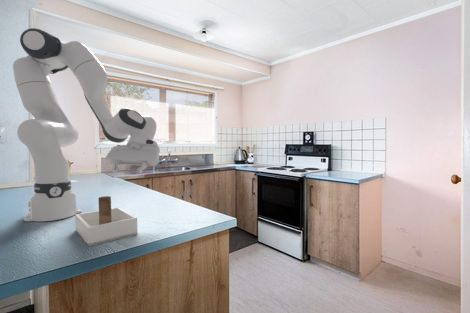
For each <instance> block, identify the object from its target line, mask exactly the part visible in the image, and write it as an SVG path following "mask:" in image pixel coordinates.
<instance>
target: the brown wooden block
mask: <svg viewBox="0 0 470 313" xmlns="http://www.w3.org/2000/svg"><path fill="white" fill-rule="evenodd" d="M111 208H112V197H111V196H110V195H109V196H108V195H105V196H104V195H103V196H99V197H98V211H99V225H101V224H106V223H111Z"/></svg>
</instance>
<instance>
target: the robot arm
mask: <svg viewBox="0 0 470 313" xmlns="http://www.w3.org/2000/svg"><path fill="white" fill-rule="evenodd" d="M19 37H20V38H19V42H20V46H21V47H22V49H23V50H24V52H25V53H26V54H27V56H23V57H22V56H21V57H19V58H18V57H17V59H15V60H14V61H13V64H12V67H13V68H12V69H13V76H14V81H15V84H16V88H17V92H18V94H19V96H20V99H21V102H22V105H23V108H24V109H25V110H26V111H27V112H29V113H30V114H31V116H32V117H33V119H27V120H24V121H22V122H21V123H20V124H19V125H18V127H17V131H16V134H17V138H18V139H19V141H20V143H22V144H24V145H25V146H26V148H27V150H28V151H29V153H30V155H31V158H32V160H33V166H34V175H35V176H34V177H35V183H34V186H33V190H34V191H33V192H34V195H33V196H32V197H31V198H30V199H29V201H28V203H27V204H28V205H27V206H28V208H29V209H28V210H29V212H28V213H27V214H26V216H25V217H24V218H23V222H51V221H57V220H62V219H68V218H70V217H73V216H75V214H81V213H82V209H80V208H78V206H77V196H76V193H75V192H73V191H72V190H71V189H72V181H71V180H70V179H71V178H70V164H69V163H70V162H69V161H68V160H67V158H66V157H65V155H64V153H63V151H62V148H66V147H69V146H72V145H74V144H75V143H76V142H77V141H78V139H79V131H78V129H77V128H76V127H75V126H74V125H73V124H72V122H70V120H69V119H68V117H67V114H65V112H64V110H63V109H62V107H61V104H60V103H59V101H58V99H57V94H56V92H55V90H54V87H53V83H52V80H51V78H50V74H51V75H54V74H57V73H59V72H62V71H65V70H67V69H68V68H69V69H70V71H71V73H73V75H74V76H75V78H76V79H77V81H78V82H79V85H80V87H81V89H82V92H83V95H84V98H85V100H86V102H87V104H88V105H89V107H90V109H91V111H92V113H93V114H94V115H95V118H96V119H97V121H98V123H99V124H100V127H101V129H102V133H103V135H104V136H105V138H106V139H108V140H109V141H110V142H113V143H117V145H115V146H112V147H111V149H110V150H109V152H108V153H107V154H106V155H105V159H106V162H107V163H108V164H109V165H113V167H112V169H111V170H112V171H113V172H112V173H119V170H120V168H119V167H118V166H119V165H121V166H122V165H124V166H137V169H136V173H137V174H142V173H143V171H144V170H146V169H147V168H148V167H156V166H157V165H158V164H159V161H160V147H159V145H158V142H157V141H156V140H154V138H155V135H156V132H157V122H156V120H155V119H154V118H153V117H151V116H150V115H142V114H140V113H139V112H138V111H136V110H135V109H132V108H130V107H123V108H121V109H119V111H117V113H115V115H114V116H113V115H112V112H111V111H110V109H109V108H108V106H107V104H106V102H105V92H106V88H107V84H108V79H109V77H108V73H107V71H106V70H105V67H104V66H103V65H102V63H101V62H100V61H99V59H98V58H97V57H96V56H95V55H94V53H93V52H92V51H91V50H90V49H89V48H88V46H86V45H85V44H84V43H82V42H80V41H76V40H73V41H68V42H66V43H64V42H61V40H60V39H59V37H56V36H54V35H52V34H51V33H49V32H47V31H45V30H42V29H40V28H35V27H33V28H32V27H30V28H27V29H26V30H23V31H22V33H21V35H20V36H19ZM129 136H130V137H129ZM128 137H129V139H128ZM126 139H128V140H127V142H126V144H124V145H122V144H121V143H124V142H125V141H126Z"/></svg>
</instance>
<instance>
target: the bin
mask: <svg viewBox="0 0 470 313" xmlns="http://www.w3.org/2000/svg"><path fill="white" fill-rule="evenodd" d="M74 216H75V217H74V219H75V232H76V233H77V234H78V235H79V237H81V239H82V241H84V243H85V244H86V245H87V246H88V247H93V246H96V245H100V244H105V243H109V242H113V241H117V240H121V239H125V238H129V237H133V236H137V235H138V217H136V216H135V215H133V214H131V213H129V212H128V211H126V210H124V209H123V208H122V207H121V208H120V207H119V206H118V207H117V206H116V207H111V223H106V224H101V225H99V210H94V211H87V212H83V213H82V212H80V213H77V214H75V215H74Z"/></svg>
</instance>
